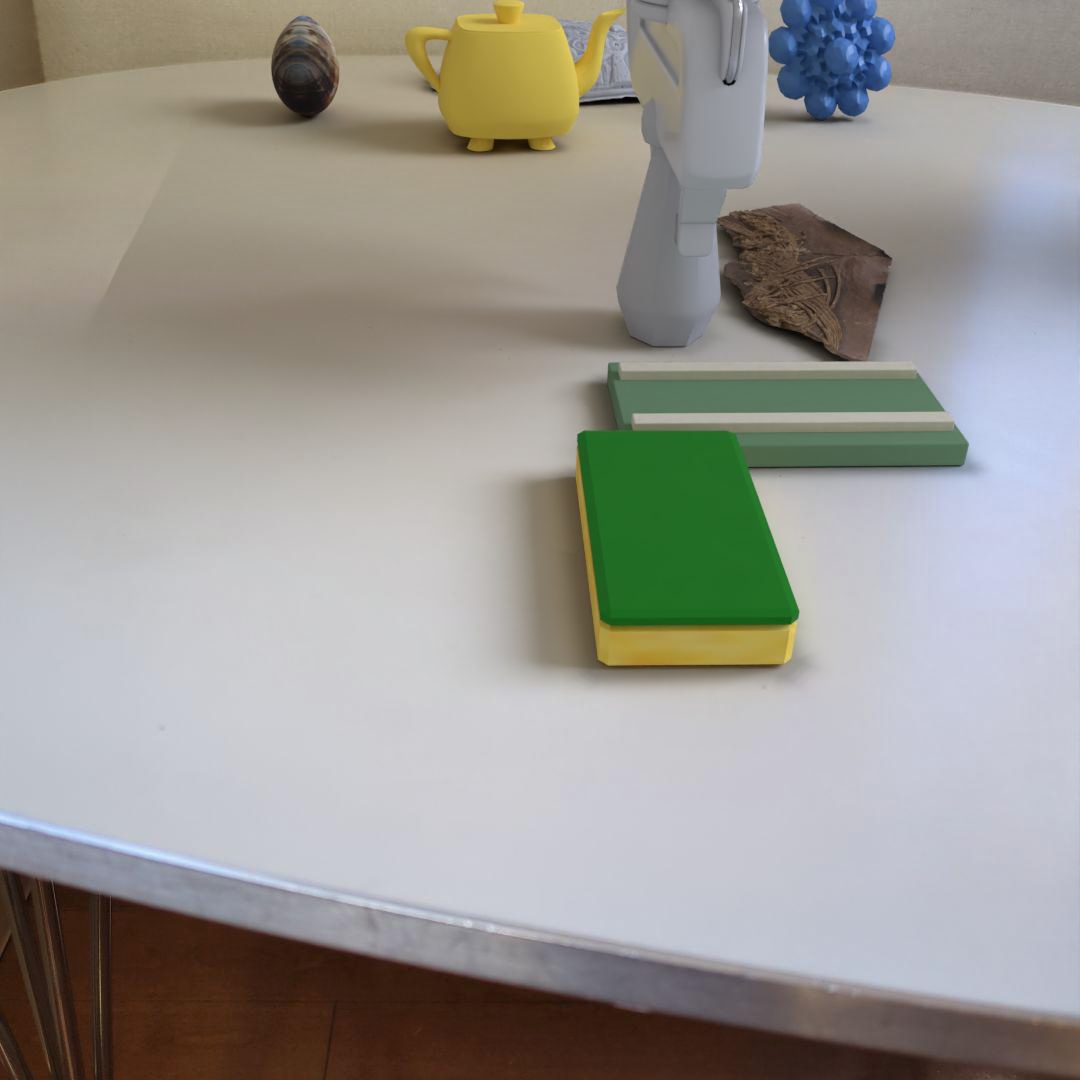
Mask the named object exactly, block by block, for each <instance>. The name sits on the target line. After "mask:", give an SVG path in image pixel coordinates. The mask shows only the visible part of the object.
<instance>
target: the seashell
mask: <svg viewBox="0 0 1080 1080" xmlns="http://www.w3.org/2000/svg"><path fill="white" fill-rule="evenodd" d="M270 63H271V64H270V70H271V72H270V73H271V80H272V83H273V87H274V90H275V93H276V94H277V96H278V98H279V99H280V101H281V102H282V104H284V106H285V107H286V108H287V109H289V110H290V111H291V112H293V113H295V114H296V115H300V116H304V117H314V116H316V115H317V116H318V115H319V114H321V113H322V112H324V111H325V110H326V109H327V108H328V107H329V106H330V104H332V103H333V101H334V98H335V96H336V94H337V92H338V88H339V83H340V64H339V59H338V54H337V51H336V48H335V46H334V44H333V42H332V40H331V38H330V37H329V35H328V34H327V33H326V31H325V30H324V28H323V27H322V26H321V25H320V24H319V23H318V22H317V21H316V20H314V19H313V18H312V17H310V16H308V15H306V14H302V15H301V14H300V15H298V16H297V17H295V18H294V19H292V20H291V21H290V22H289V23H288V24H286V26H285V27H284V29H282V30H281V32H280V34H279V35H278V38H277V39H276V42H275V44H274V48H273V50H272V53H271V62H270Z"/></svg>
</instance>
